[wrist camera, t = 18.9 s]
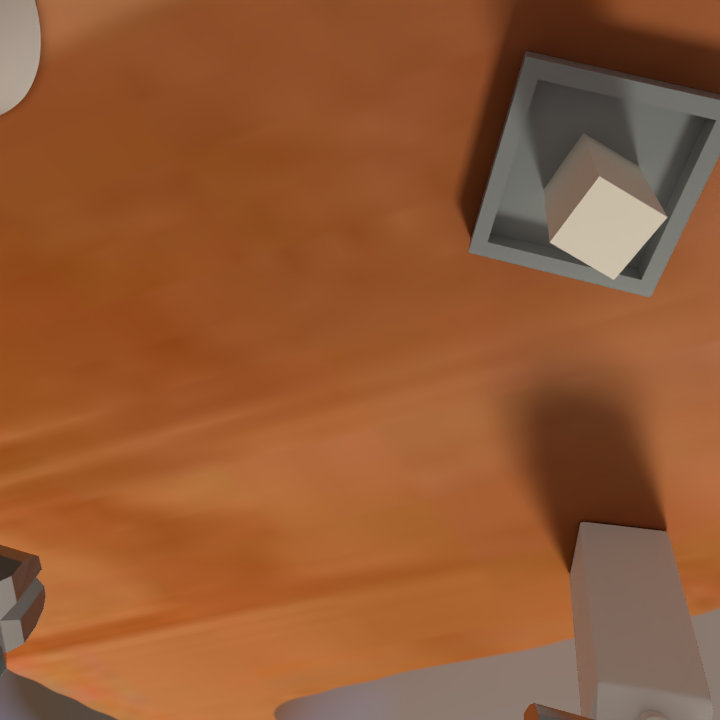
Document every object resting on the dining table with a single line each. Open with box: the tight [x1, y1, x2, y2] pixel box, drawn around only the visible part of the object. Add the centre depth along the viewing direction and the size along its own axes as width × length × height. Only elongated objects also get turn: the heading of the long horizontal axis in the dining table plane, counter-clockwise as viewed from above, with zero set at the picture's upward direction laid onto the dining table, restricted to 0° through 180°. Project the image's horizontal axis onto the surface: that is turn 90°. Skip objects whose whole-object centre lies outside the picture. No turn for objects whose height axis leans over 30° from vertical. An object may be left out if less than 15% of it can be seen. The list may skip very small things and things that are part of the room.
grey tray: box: [468, 51, 720, 297], centre depth 40 cm, size 12×12×2 cm
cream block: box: [544, 133, 667, 280], centre depth 37 cm, size 4×4×9 cm
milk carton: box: [570, 522, 712, 720], centre depth 50 cm, size 7×7×19 cm
